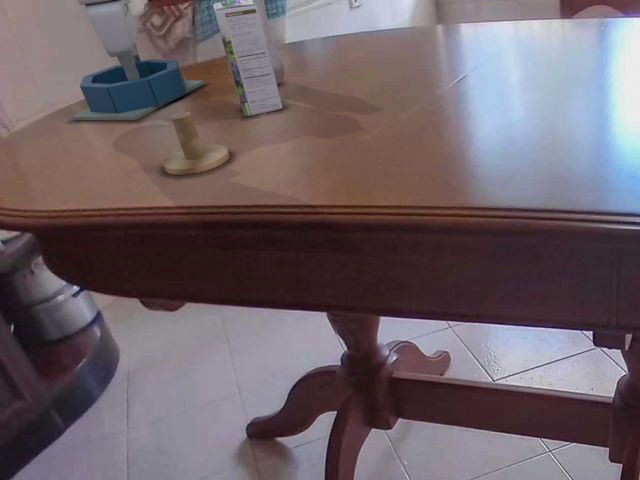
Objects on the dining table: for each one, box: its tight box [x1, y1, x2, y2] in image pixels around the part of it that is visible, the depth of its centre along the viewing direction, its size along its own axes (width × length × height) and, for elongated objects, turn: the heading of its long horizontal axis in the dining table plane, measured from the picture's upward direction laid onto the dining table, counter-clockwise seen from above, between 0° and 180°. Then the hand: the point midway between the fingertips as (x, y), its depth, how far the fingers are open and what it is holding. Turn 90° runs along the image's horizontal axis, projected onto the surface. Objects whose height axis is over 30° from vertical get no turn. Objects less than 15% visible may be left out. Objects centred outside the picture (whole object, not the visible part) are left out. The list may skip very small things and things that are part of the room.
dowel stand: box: [162, 111, 230, 176], centre depth 87 cm, size 8×8×6 cm
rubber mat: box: [71, 80, 205, 121], centre depth 115 cm, size 18×12×1 cm, turn 163°
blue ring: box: [79, 58, 187, 113], centre depth 113 cm, size 15×15×4 cm
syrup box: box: [212, 0, 284, 117], centre depth 101 cm, size 6×6×14 cm
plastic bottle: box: [222, 0, 285, 85], centre depth 109 cm, size 6×7×20 cm
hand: (136, 73), depth 118 cm, fingers open, 8 cm apart
